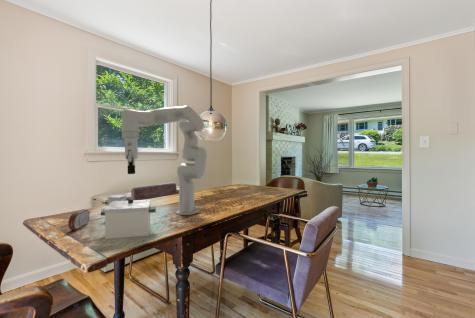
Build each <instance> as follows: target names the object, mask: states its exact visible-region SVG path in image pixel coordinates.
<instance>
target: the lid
mask: <svg viewBox="0 0 475 318" xmlns="http://www.w3.org/2000/svg"><path fill="white" fill-rule="evenodd" d="M151 201H152V200H151V199H137V200H136V199H135V200H134V198H128V199H127V200H126V201H112V202H111V203H110V204H109V205H108V204H107V206H106V207H105V208H104V212H122V211H139V210H149V207H151Z"/></svg>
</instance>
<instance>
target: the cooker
mask: <svg viewBox="0 0 475 318" xmlns="http://www.w3.org/2000/svg"><path fill="white" fill-rule="evenodd" d="M156 208H157V206H150V207H149V210H139V211H122V212H104V209H105V208H104V209H102V211H101V212H100V216H101V217H102V216H104V226H105V227H104V233H105V234H104V238H105V240H111V239H123V238H134V237H144V236H145V237H146V236H149V233H150V226H151V214H152V213H156V212H157V211H156V210H157V209H156Z"/></svg>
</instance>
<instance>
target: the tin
mask: <svg viewBox="0 0 475 318" xmlns="http://www.w3.org/2000/svg"><path fill="white" fill-rule="evenodd" d="M89 220H90V211H89V210H88V209H80V210H78V211H75V212H72V214H71V215H70V216H69V217H68V225H67V227H68V229H69V230H71V231H72V230H76V231H77V230H79V229H81V228H82V227H85V226H86V225H87V224H88V223H89Z"/></svg>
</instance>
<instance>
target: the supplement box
mask: <svg viewBox="0 0 475 318" xmlns="http://www.w3.org/2000/svg"><path fill="white" fill-rule="evenodd" d="M112 201H127V195H121V194H116V195H111V196H108V197H107V206H108V205H109V204H110V203H111V202H112Z"/></svg>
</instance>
